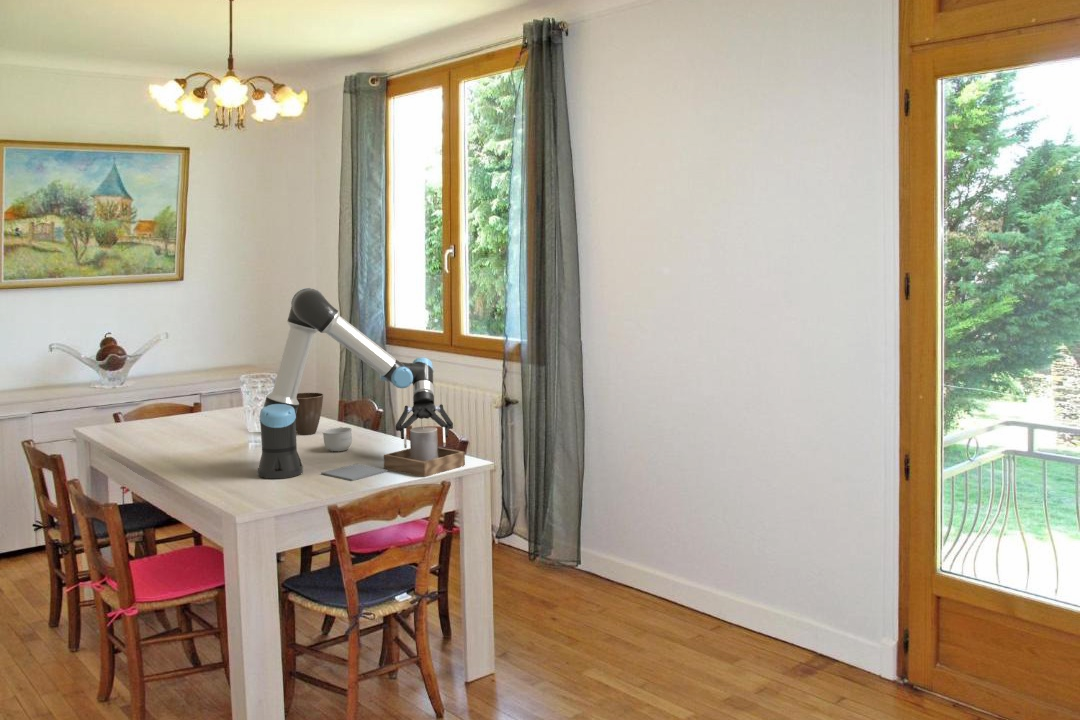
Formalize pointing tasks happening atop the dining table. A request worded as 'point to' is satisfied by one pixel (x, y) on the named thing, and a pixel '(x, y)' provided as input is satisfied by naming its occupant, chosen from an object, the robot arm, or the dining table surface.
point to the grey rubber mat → (354, 472)
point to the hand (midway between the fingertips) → (424, 445)
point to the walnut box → (405, 464)
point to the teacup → (337, 438)
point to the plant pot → (308, 412)
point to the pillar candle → (424, 443)
